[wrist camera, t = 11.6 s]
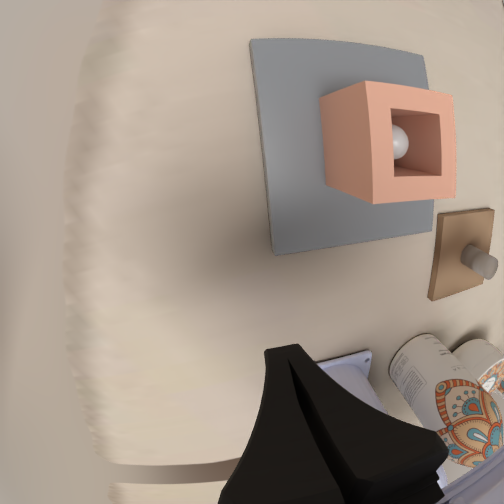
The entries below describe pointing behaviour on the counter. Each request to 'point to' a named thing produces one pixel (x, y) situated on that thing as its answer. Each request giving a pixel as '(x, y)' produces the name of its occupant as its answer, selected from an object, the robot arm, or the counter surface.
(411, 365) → the cosmetic set
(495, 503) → the robot arm
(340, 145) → the terracotta collar
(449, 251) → the walnut stand
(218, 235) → the counter surface
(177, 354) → the counter surface
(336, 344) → the counter surface
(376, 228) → the board
